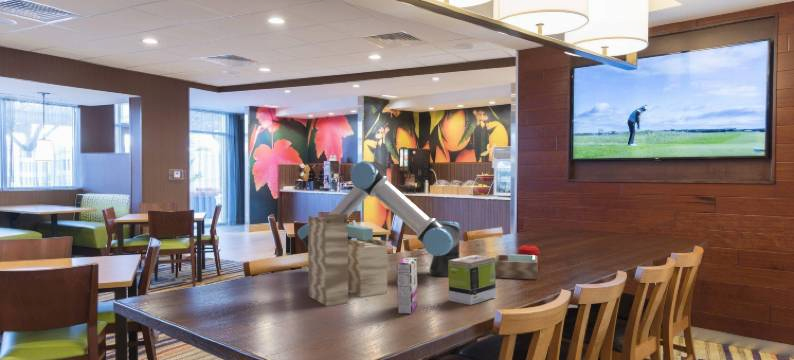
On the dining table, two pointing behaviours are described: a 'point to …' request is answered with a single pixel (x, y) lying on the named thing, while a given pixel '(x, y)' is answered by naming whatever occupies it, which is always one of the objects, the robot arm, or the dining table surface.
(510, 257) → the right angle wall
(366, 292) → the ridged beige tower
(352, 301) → the dining table surface
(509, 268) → the caddy
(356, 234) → the bar
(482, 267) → the tea box
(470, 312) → the dining table surface
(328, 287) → the stand
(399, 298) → the candy bar box
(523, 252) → the apple
